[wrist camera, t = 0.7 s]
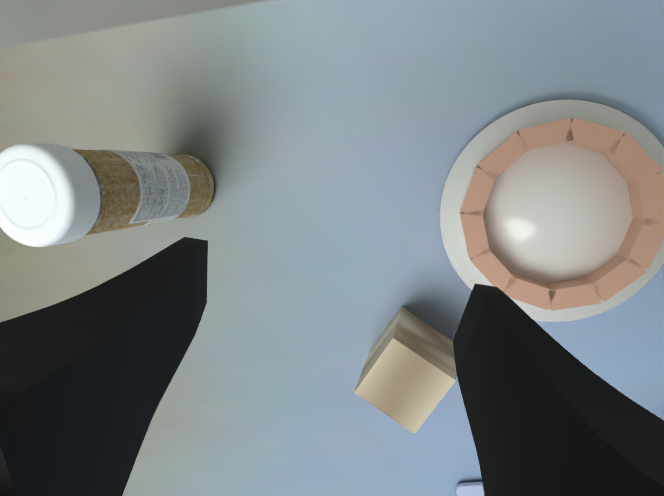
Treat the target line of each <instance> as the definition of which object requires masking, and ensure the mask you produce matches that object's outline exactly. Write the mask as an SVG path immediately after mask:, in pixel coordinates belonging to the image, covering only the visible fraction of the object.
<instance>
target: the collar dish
mask: <svg viewBox="0 0 664 496" xmlns="http://www.w3.org/2000/svg"><path fill="white" fill-rule="evenodd" d="M440 227H441V234H442V239H443V243H444V247H445V250H446V253H447V255H448V257H449V260H450V262H451V264H452V265H453V267H454V269H455V270H456V272H457V274H458V275H459V276H460V278H461V279H462V280H463V281H464V283H465V284H466V285H467V286H468V287H469V288H470V289H471V290H473V287H474V284H475V283H476V284H482V285H488V286H494V287H498V288H499V289H500V290H502V291H503V292H504V293H505V294H506V295H507V296H509V297H510V298H511V299H512V300H513V301H514V302H515V303H516V304H517V305H518V306H519V307H520V308H521V309H522V310H523V311H524V312H525V313H527V314H528V315H529V316H530V317H531V318H532V319H533V320H536V321H544V322H563V321H573V320H578V319H583V318H588V317H591V316H594V315H597V314H600V313H603V312H605V311H608V310H610V309H612V308H614V307H616V306H618V305H620V304H621V303H623V302H625V301H626V300H628V299H630V298H631V297H632V296H634V295H635V294H636V293H637V292H639V291H640V290H641V289H642V288H643V287H644V286H645V285H646V284H647V283H648V282H649V281H650V280H651V279H652V278H653V277H654V276H655V275H656V273H657V272H658V271H659V269H660V268H661V267H662V265H663V264H664V147H663V146H662V145H661V143H660V142H659V141H658V140H657V138H656V137H655V136H654V135H653V134H652V133H651V132H650V131H649V130H648V129H647V128H646V127H644V126H643V125H642V124H641V123H639V122H638V121H636V120H635V119H633V118H632V117H630V116H629V115H627V114H625V113H623V112H621V111H619V110H617V109H615V108H612V107H608V106H605V105H602V104H599V103H594V102H589V101H584V100H568V99H566V100H551V101H545V102H540V103H535V104H532V105H528V106H525V107H522V108H519V109H517V110H515V111H513V112H510V113H508V114H506V115H504V116H502V117H501V118H499V119H497V120H496V121H494V122H493V123H491V124H490V125H488V126H487V127H486V128H485V129H483V130H482V131H481V132H480V133H478V134H477V135H476V136H475V137H474V138H473V139H472V140H471V141H470V142H469V144H468V145H467V146H466V147H465V148H464V150H463V151H462V152H461V154H460V155H459V156H458V158H457V159H456V161H455V163H454V165H453V166H452V168H451V170H450V172H449V175H448V177H447V180H446V182H445V186H444V189H443V193H442V198H441V205H440Z"/></svg>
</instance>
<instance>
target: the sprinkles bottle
mask: <svg viewBox="0 0 664 496" xmlns="http://www.w3.org/2000/svg"><path fill="white" fill-rule="evenodd" d="M213 193H214V182H213V177H212V175H211V172H210V171H209V169H208V168H207V166H206V165H205V164H204V163H203V162H202V161H201V160H200V159H198V158H196V157H194V156H192V155H187V154H178V155H166V154H162V153H149V152H132V151H115V150H77V149H70V148H68V147H65V146H62V145H57V144H42V143H23V144H17V145H13V146H11V147H9V148H7V149H6V150H4V151H3V152H2V153H0V227H1V228H2V230H3V231H4V232H5V233H6V234H7V235H8V236H10V237H11V238H12V239H14V240H16V241H18V242H20V243H22V244H25V245H28V246H33V247H45V246H51V245H57V244H62V243H67V242H72V241H75V240H77V239H79V238H81V237H83V236H84V235H90V234H95V233H101V232H106V231H113V230H120V229H124V228H130V227H140V226H146V225H151V224H157V223H162V222H167V221H170V220H173V219H177V218H192V217H195V216H197V215H199V214H201V213H202V212H203V211H204V210H205V209H206V208H207V207H208V206H209V204H210V203H211V201H212V197H213Z"/></svg>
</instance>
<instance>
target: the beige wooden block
mask: <svg viewBox="0 0 664 496" xmlns="http://www.w3.org/2000/svg"><path fill="white" fill-rule="evenodd" d="M455 381H456V373H455V362H454V350H453V340H451V339H450V338H448V337H447V336H445V335H444V334H442V333H441V332H439V331H438V330H436V329H435V328H433V327H432V326H430V325H429V324H427V323H426V322H424V321H423V320H421V319H420V318H418V317H417V316H415V315H414V314H412V313H410V312H409V311H407V310H406V309H404V308H403V307H401V308H400V309H399V310H398V312H397V313H396V315H395V316H394V318H393V319H392V321H391V322H390V323H389V325H388V326H387V328H386V329H385V331H384V332H383V333H382V335H381V336H380V338H379V339H378V341H377V342H376V343H375V345H374V346H373V348H372V349H371V351H370V352H369V355H368V357H367V360H366V363H365V365H364V368H363V371H362V373H361V376H360V379H359V381H358V384H357V387H356V389H355V392H354V393H356V394H357V395H359V396H360V397H362V398H363V399H364V400H366V401H367V402H369V403H370V404H372V405H373V406H375V407H376V408H377V409H379V410H380V411H382V412H383V413H385V414H386V415H387V416H389V417H390V418H392V419H393V420H395V421H396V422H398V423H399V424H400V425H402V426H403V427H405V428H406V429H408V430H409V431H411V432H412V433H413V434H415V433H416V431H417V430H418V429H419V428H420V426H421V425H422V424H423V422H424V421H425V420H426V419H427V417H428V416H429V415H430V413H431V412H432V411H433V410H434V408H435V407H436V406H437V404H438V403H439V402H440V401H441V399H442V398H443V397H444V395H445V394H446V393H447V392H448V390H449V389H450V388H451V386H452V385H453V384H454V382H455Z"/></svg>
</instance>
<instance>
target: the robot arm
mask: <svg viewBox="0 0 664 496" xmlns="http://www.w3.org/2000/svg"><path fill="white" fill-rule="evenodd" d="M207 254H208V241H206V240H200V239H193V238H187V237H184V238H182V239H180V240H179V241H177V242H175V243H173V244H172V245H170V246H168V247H167V248H165V249H164V250H162V251H160V252H159V253H157V254H155V255H154V256H152V257H150V258H148V259H147V260H145V261H143V262H142V263H140V264H138V265H136V266H135V267H133V268H131V269H129V270H128V271H126V272H124V273H122V274H120V275H118V276H116V277H114V278H112V279H110V280H108V281H106V282H104V283H102V284H101V285H99V286H97V287H94V288H92V289H90V290H88V291H86V292H84V293H81V294H79V295H77V296H74V297H72V298H69V299H67V300H64V301H62V302H60V303H57V304H54V305H52V306H49V307H46V308H43V309H40V310H37V311H34V312H31V313H28V314H25V315H22V316H19V317H16V318H13V319H10V320H7V321H4V322H0V496H122V495H123V492H124V489H125V487H126V484H127V481H128V479H129V476H130V473H131V471H132V468H133V465H134V463H135V460H136V457H137V455H138V452H139V450H140V447H141V445H142V442H143V440H144V437H145V435H146V432H147V430H148V427H149V425H150V422H151V420H152V417H153V415H154V413H155V411H156V409H157V407H158V405H159V402H160V400H161V399H162V397H163V395H164V393H165V391H166V389H167V387H168V385H169V383H170V382H171V380H172V378H173V376H174V374H175V372H176V370H177V368H178V366H179V365H180V363H181V361H182V359H183V357H184V355H185V353H186V351H187V349H188V347H189V345H190V343H191V341H192V340H193V338H194V336H195V333H196V331H197V328H198V325H199V323H200V320H201V317H202V314H203V312H204V309H205V306H206V303H207ZM453 345H454V356H455V364H456V372H457V377H458V381H459V385H460V389H461V393H462V397H463V401H464V405H465V408H466V412H467V416H468V420H469V424H470V427H471V431H472V435H473V439H474V442H475V446H476V450H477V455H478V459H479V464H480V469H481V476H482V482H469V483H460V484H458V485H457V486H456V495H457V496H664V420H662V419H660V418H659V417H657V416H656V415H654V414H653V413H651V412H649V411H648V410H646V409H645V408H643V407H642V406H640V405H638V404H637V403H635V402H634V401H632V400H631V399H629V398H628V397H626V396H625V395H624V394H622V393H621V392H619V391H618V390H617V389H615V388H614V387H612V386H611V385H610V384H608V383H607V382H606V381H604V380H603V379H602V378H600V377H599V376H597V375H596V374H595V373H594V372H592V371H591V370H590V369H588V368H587V367H586V366H585V365H583V364H582V363H581V362H580V361H579V360H578V359H576V358H575V357H574V356H573V355H572V354H570V353H569V352H568V351H567V350H566V349H564V348H563V347H562V346H561V345H560V344H559V343H558V342H557V341H555V340H554V339H553V338H552V337H551V336H550V335H549V334H548V333H547V332H546V331H544V330H543V329H542V328H541V327H540V326H539V325H538V324H537V323H536V322H535V321H534V320H533V319H532V318H531V317H530V316H529V315H528V314H527V313H525V312H524V311H523V310H522V309H521V308H520V307H519V306H518V305H517V304H516V303H515V302H514V301H513V300H512V299H511V298H510V297H509V296H507V295H506V294H505V293H504V292H503V291H502V290H500V289H499V288H498V287H494V286H488V285H482V284H476V283H475V284H474V287H473V290H472V292H471V295H470V298H469V300H468V303H467V305H466V308H465V311H464V313H463V316H462V319H461V321H460V324H459V327H458V329H457V332H456V335H455V337H454V340H453Z"/></svg>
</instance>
